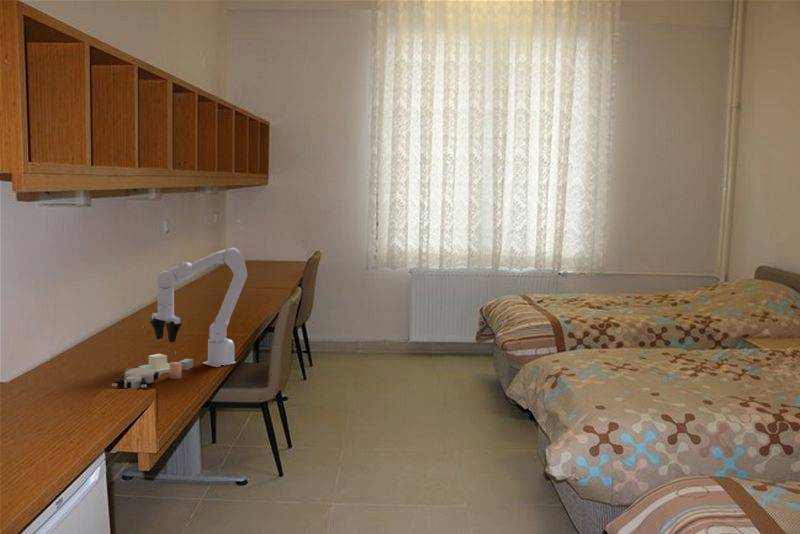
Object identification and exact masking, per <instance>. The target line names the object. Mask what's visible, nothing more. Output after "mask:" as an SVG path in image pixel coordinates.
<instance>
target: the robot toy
mask: <svg viewBox="0 0 800 534" xmlns="http://www.w3.org/2000/svg"><path fill="white" fill-rule="evenodd" d="M162 372H163V370H162V371H161V373H162ZM161 373H160V374H159V373H158V372H157V370H155V369H151V368H138V367H134V368H126V370H125V371H124V373H122V379H118V380H115V382H113V383H112V384H111V387H115V388H116V387H117V388H119V387H122V386H123V387H124V389H125V388H133V389H138V390H139V388H141V389H146V388H147V386H148V385H149V384H151V385H152V383H154V382H155V381H156V380H157V379H159V378H160V377H161V375H162V374H161Z"/></svg>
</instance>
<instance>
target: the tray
mask: <svg viewBox="0 0 800 534" xmlns="http://www.w3.org/2000/svg"><path fill="white" fill-rule="evenodd" d="M169 363H170V362H169ZM169 363H168V362H167V368H166V369H161V370H157V372H158V373H159V374H160V373H161V371H162V370H163V372H162V373H161V375H163V374H169ZM137 368H149V363H148V364H143V365H139V366H138V367H137Z"/></svg>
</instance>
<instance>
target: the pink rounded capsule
mask: <svg viewBox="0 0 800 534" xmlns="http://www.w3.org/2000/svg"><path fill="white" fill-rule="evenodd" d="M182 371H183V370H182V363H181V362H180V361H172V362H169V373H168V374H169V379H171V380H178V379H181V378H182V374H183V373H182Z"/></svg>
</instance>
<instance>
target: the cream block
mask: <svg viewBox="0 0 800 534" xmlns="http://www.w3.org/2000/svg"><path fill="white" fill-rule="evenodd" d="M167 363H168V355H166V354H163V353H156V354H150V355H148V364H149V368H151V369H155V370H161V369H166V368H167Z"/></svg>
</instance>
